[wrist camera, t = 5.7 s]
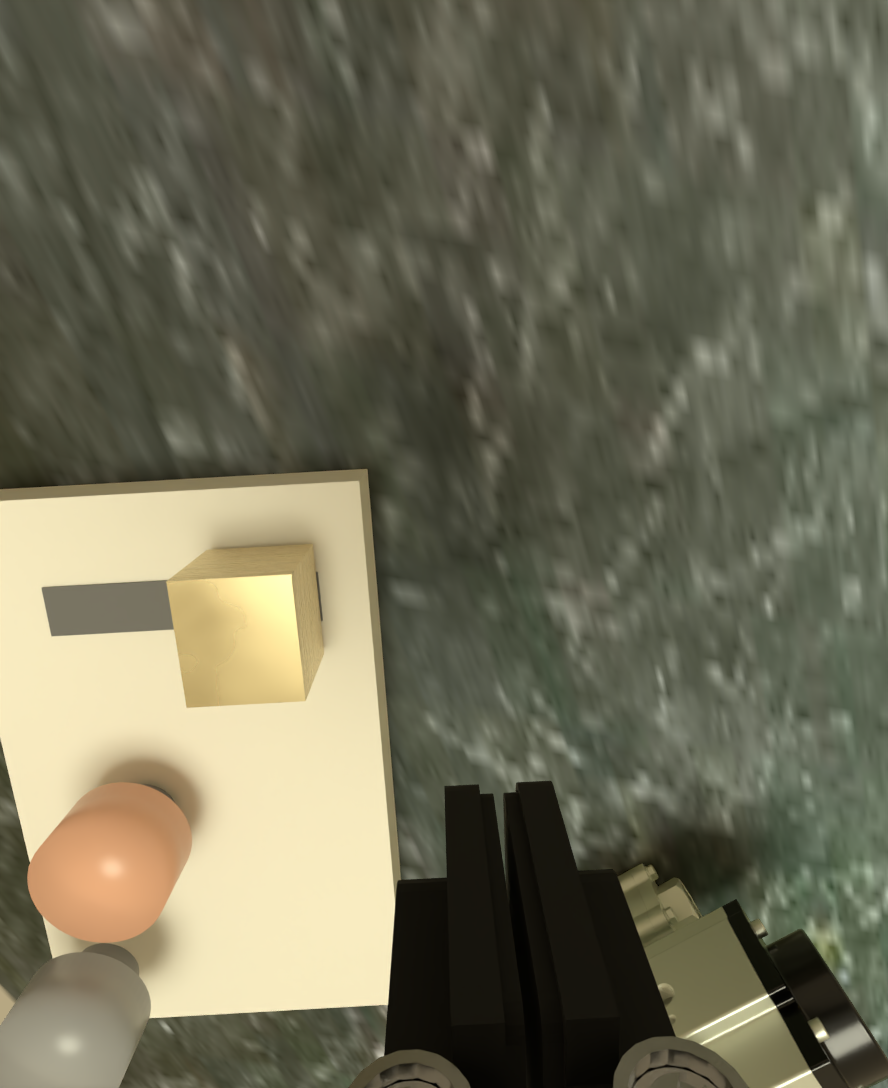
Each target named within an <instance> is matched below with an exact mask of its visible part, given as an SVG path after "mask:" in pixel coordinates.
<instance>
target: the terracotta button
mask: <svg viewBox="0 0 888 1088" xmlns="http://www.w3.org/2000/svg"><path fill="white" fill-rule="evenodd" d="M191 848H192V833H191V829H190V826H189V823H188V821H187V819H186V817H185V815H184V813H183V812H182V811H181V809H180V808H179V807H178V806H177V805H176V803H175V801H174V800H173V798H172V797H171V796H170V795H169V794H168V793H167V792H166V791H164V790H163V789H161V788H159V787H156V786H154V785H149V784H137V783H129V782H117V783H110V784H106V785H102V786H99V787H97V788H95V789H93V790H91V791H89V792H88V793H86V794H85V795H84V796H82V797H81V798H80V799H79V800H78V801H77V803H76V804H75V805H74V806H73V807H72V809H71V810H70V811H69V812H68V814H67V815H66V816H65V817H64V818H63V820H62V821H61V822H60V823H59V824H58V826H57V827H56V828H55V829H54V830H53V832H52V833H51V834H50V835H49V836H48V838H47V839H46V840H45V841H44V842H43V844H42V845H41V846H40V847H39V848H38V850H37V851H36V853H35V854H34V856H33V858H32V860H31V862H30V865H29V869H28V888H29V892H30V895H31V898H32V900H33V902H34V904H35V906H36V908H37V909H38V911H39V912H40V913H41V914H42V916H43V917H44V918H45V919H46V920H47V921H48V922H49V923H51V924H52V925H53V926H55V927H56V928H57V929H59V930H60V931H62V932H64V933H66V934H68V935H70V936H72V937H75V938H78V939H81V940H85V941H90V942H98V943H111V942H119V941H123V940H127V939H130V938H133V937H135V936H137V935H139V934H141V933H143V932H144V931H145V930H147V929H148V928H149V927H150V926H151V925H153V924H154V922H155V921H156V920H157V919H158V917H159V916H160V914H161V912H162V910H163V908H164V906H165V904H166V902H167V900H168V898H169V896H170V894H171V892H172V890H173V888H174V886H175V884H176V882H177V880H178V879H179V877H180V875H181V873H182V871H183V869H184V867H185V865H186V863H187V861H188V858H189V856H190V853H191Z"/></svg>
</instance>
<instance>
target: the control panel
mask: <svg viewBox="0 0 888 1088" xmlns="http://www.w3.org/2000/svg"><path fill="white" fill-rule="evenodd" d="M303 544H313V551H314V560H315V570H316V580H317V589H318V599H319V608H320V618H321V627H322V637H323V647H324V655H323V658H322V660H321V663H320V666H319V668H318V671H317V673H316V676H315V678H314V681H313V684H312V686H311V689H310V691H309V694H308V696H307V699H306V701H300V702H282V703H264V704H247V705H229V706H211V707H194V708H186V701H185V695H184V689H183V683H182V677H181V670H180V664H179V658H178V652H177V646H176V639H175V633H174V627H173V621H172V615H171V608H170V602H169V596H168V590H167V584H166V581H167V580H169V579H170V578H171V577H173V576H174V575H175V574H176V573H178V572H179V571H180V570H182V569H183V568H184V567H185V566H187V565H188V564H189V563H191V562H192V561H193V560H194V559H196V558H197V557H198V556H200V555H201V554H202V553H203V552H205V551H206V550H213V549H231V548H249V547H267V546H285V545H303ZM0 738H1V743H2V747H3V751H4V755H5V759H6V764H7V768H8V772H9V776H10V780H11V785H12V789H13V793H14V797H15V801H16V806H17V810H18V814H19V818H20V822H21V827H22V831H23V835H24V839H25V843H26V848H27V852H28V856H29V860H30V862H31V860H32V858H33V856H34V854H35V853H36V851H37V850H38V848H39V847H40V846H41V845H42V844H43V842H44V841H45V840H46V839H47V838H48V836H49V835H50V834H51V833H52V832H53V830H54V829H55V828H56V827H57V826H58V824H59V823H60V822H61V821H62V820H63V818H64V817H65V816H66V815H67V814H68V812H69V811H70V810H71V809H72V807H73V806H74V805H75V804H76V803H77V801H78V800H79V799H80V798H81V797H82V796H84V795H85V794H86V793H88V792H89V791H91V790H93V789H95V788H97V787H99V786H102V785H106V784H110V783H117V782H129V783H137V784H149V785H154V786H156V787H159V788H161V789H163V790H164V791H166V792H167V793H168V794H169V795H170V796H171V797H172V798H173V800H174V801H175V803H176V805H177V806H178V807H179V808H180V809H181V811H182V812H183V813H184V815H185V817H186V819H187V821H188V823H189V826H190V829H191V833H192V848H191V853H190V856H189V858H188V861H187V863H186V865H185V867H184V869H183V871H182V873H181V875H180V877H179V879H178V880H177V882H176V884H175V886H174V888H173V890H172V892H171V894H170V896H169V898H168V900H167V902H166V904H165V906H164V908H163V910H162V912H161V914H160V916H159V917H158V919H157V920H156V921H155V922H154V924H153V925H151V926H150V927H149V928H148V929H147V930H145V931H144V932H143V933H141V934H139V935H137V936H135V937H133V938H130V939H127V940H123V941H119V942H111V943H109V944H115V945H118V946H120V947H123V948H124V949H126V950H127V951H129V952H130V953H131V954H132V955H133V956H134V957H135V959H136V961H137V963H138V965H139V977H140V978H141V979H142V981H143V982H144V984H145V986H146V988H147V990H148V992H149V996H150V1000H151V1012H150V1017H149V1018H160V1017H178V1016H195V1015H213V1014H230V1013H248V1012H265V1011H283V1010H300V1009H318V1008H335V1007H353V1006H370V1005H387V1004H388V997H389V983H390V969H391V955H392V942H393V928H394V914H395V900H396V888H397V882H398V880H401V873H400V860H399V848H398V836H397V824H396V812H395V799H394V787H393V775H392V763H391V750H390V738H389V726H388V714H387V702H386V689H385V677H384V665H383V653H382V640H381V628H380V616H379V604H378V592H377V579H376V567H375V555H374V543H373V530H372V518H371V506H370V494H369V482H368V469H355V470H337V471H319V472H301V473H283V474H265V475H247V476H229V477H212V478H194V479H176V480H158V481H140V482H122V483H104V484H86V485H68V486H50V487H32V488H15V489H0ZM43 919H44V923H45V927H46V932H47V936H48V940H49V944H50V948H51V953H52V957H53V958H55V957H58V956H61V955H64V954H68V953H75V952H82V951H83V950H84V949H86V948H87V947H89V946H91V945H94V944H99V943H98V942H90V941H85V940H81V939H78V938H75V937H72V936H70V935H68V934H66V933H64V932H62V931H60V930H59V929H57V928H56V927H55V926H53V925H52V924H51V923H49V922H48V921H47V920H46V919H45V918H44V917H43Z"/></svg>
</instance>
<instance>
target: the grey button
mask: <svg viewBox="0 0 888 1088" xmlns="http://www.w3.org/2000/svg"><path fill="white" fill-rule="evenodd" d="M150 1012H151V1000H150V996H149V992H148V990H147V988H146V986H145V984H144V982H143V981H142V979H141V978H140V977H139V965H138V963H137V961H136V959H135V957H134V956H133V955H132V954H131V953H130V952H129V951H127V950H126V949H124V948H123V947H120V946H118V945H115V944H109V943H99V944H94V945H91V946H89V947H87V948H86V949H84V950H83V951H82V952H75V953H68V954H64V955H61V956H58V957H55V958H53V959H51V960H49V961H48V962H46V963H45V964H44V965H42V966H41V967H40V968H39V969H38V970H37V972H36V973H35V974H34V976H33V977H32V979H31V980H30V982H29V983H28V985H27V986H26V988H25V989H24V991H23V992H22V994H21V995H20V997H19V998H18V1000H17V1001H16V1003H15V1004H14V1006H13V1007H12V1009H11V1010H10V1012H9V1013H8V1015H7V1016H6V1018H5V1019H4V1021H3V1022H2V1024H1V1025H0V1088H119V1086H120V1083H121V1081H122V1079H123V1077H124V1074H125V1072H126V1070H127V1068H128V1065H129V1063H130V1061H131V1059H132V1056H133V1054H134V1052H135V1049H136V1047H137V1045H138V1043H139V1040H140V1038H141V1036H142V1034H143V1031H144V1029H145V1027H146V1024H147V1022H148V1020H149V1017H150Z"/></svg>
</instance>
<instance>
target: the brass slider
mask: <svg viewBox="0 0 888 1088" xmlns="http://www.w3.org/2000/svg"><path fill="white" fill-rule="evenodd" d="M166 584H167V590H168V596H169V602H170V608H171V615H172V621H173V627H174V633H175V639H176V646H177V652H178V658H179V664H180V670H181V677H182V683H183V689H184V695H185V701H186V708H194V707H211V706H229V705H247V704H264V703H282V702H300V701H306V699H307V696H308V694H309V691H310V689H311V686H312V684H313V681H314V678H315V676H316V673H317V671H318V668H319V666H320V663H321V660H322V658H323V655H324V647H323V637H322V627H321V618H320V608H319V599H318V589H317V580H316V570H315V560H314V551H313V544H303V545H285V546H267V547H249V548H231V549H213V550H206V551H205V552H203V553H202V554H201V555H200V556H198V557H197V558H196V559H194V560H193V561H192V562H191V563H189V564H188V565H187V566H185V567H184V568H183V569H182V570H180V571H179V572H178V573H176V574H175V575H174V576H173V577H171V578H170V579H169V580H167V581H166Z"/></svg>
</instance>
